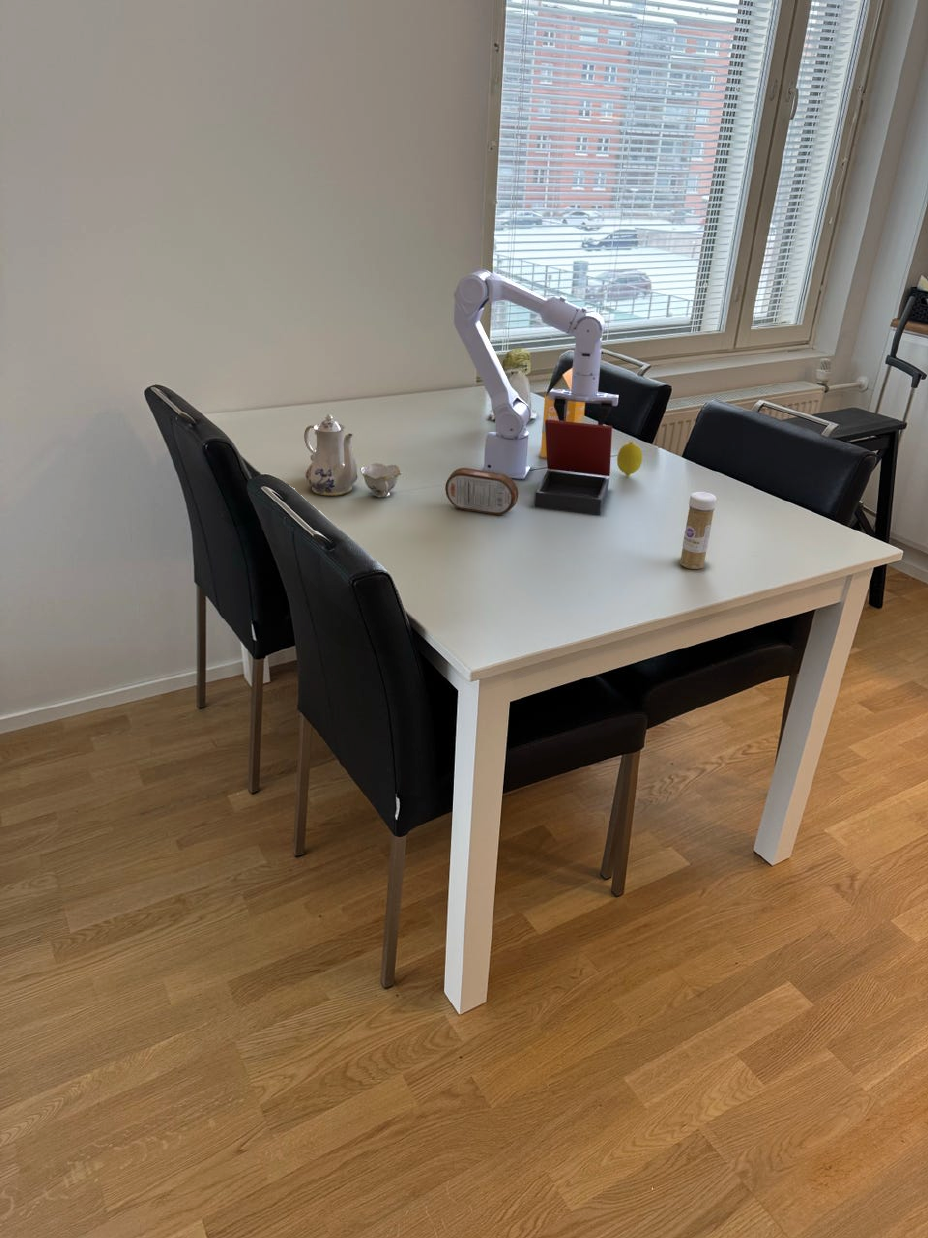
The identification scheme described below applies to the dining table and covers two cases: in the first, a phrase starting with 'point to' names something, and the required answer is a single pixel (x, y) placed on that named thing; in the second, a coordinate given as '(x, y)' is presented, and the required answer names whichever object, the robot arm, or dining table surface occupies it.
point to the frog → (519, 375)
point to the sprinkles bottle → (697, 530)
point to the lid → (578, 447)
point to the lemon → (629, 458)
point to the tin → (481, 491)
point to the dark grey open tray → (572, 492)
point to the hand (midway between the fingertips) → (580, 435)
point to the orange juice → (573, 408)
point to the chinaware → (342, 464)
